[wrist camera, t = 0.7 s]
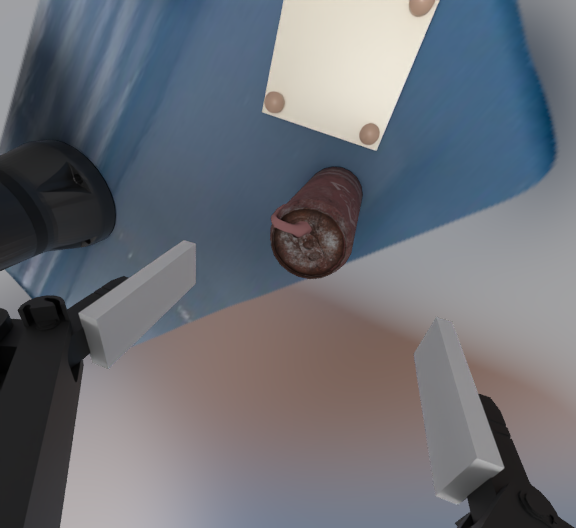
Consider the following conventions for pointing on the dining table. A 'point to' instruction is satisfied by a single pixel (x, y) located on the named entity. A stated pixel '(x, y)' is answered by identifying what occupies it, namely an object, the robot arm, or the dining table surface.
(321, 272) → the can
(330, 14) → the stud plate
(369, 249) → the dining table surface
